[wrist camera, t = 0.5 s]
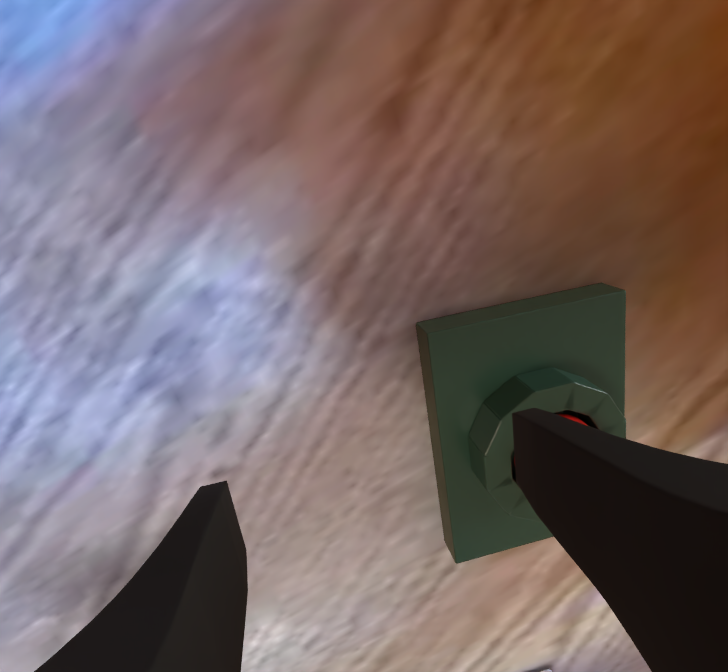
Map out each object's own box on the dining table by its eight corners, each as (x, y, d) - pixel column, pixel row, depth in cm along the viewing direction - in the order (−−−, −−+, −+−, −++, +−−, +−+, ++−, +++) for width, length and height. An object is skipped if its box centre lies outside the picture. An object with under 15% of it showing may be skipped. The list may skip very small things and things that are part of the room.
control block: (603, 497, 28) (649, 541, 24) (444, 541, 26) (470, 593, 23) (601, 281, 24) (656, 299, 20) (415, 322, 22) (441, 348, 19)
